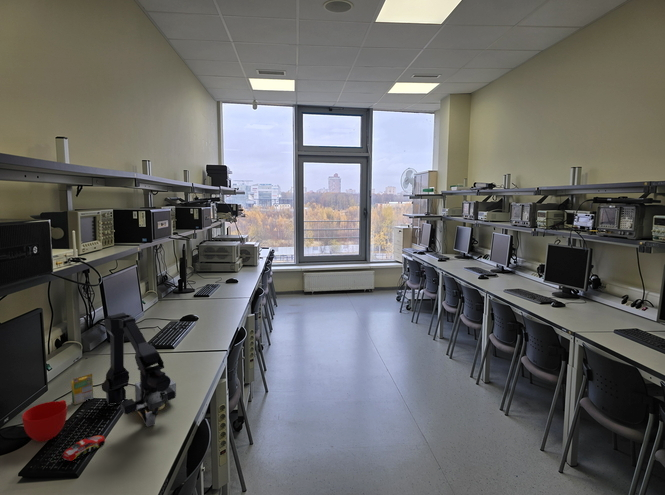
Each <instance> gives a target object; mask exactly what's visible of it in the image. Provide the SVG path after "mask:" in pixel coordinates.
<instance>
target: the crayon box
mask: <svg viewBox="0 0 665 495" xmlns="http://www.w3.org/2000/svg"><path fill="white" fill-rule="evenodd" d="M93 382H94V380H93V373H89V374H85V375H82V376H78V377H75V378H73V380H70V384H71V385H70V386H71V400H72V404H74V406H75V405H77V404H82V403H84V402H87V401H89V400H88V399H90V400H93V399H94V386H93V385H94V384H93ZM86 400H87V401H86Z"/></svg>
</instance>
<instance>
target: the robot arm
mask: <svg viewBox="0 0 665 495" xmlns="http://www.w3.org/2000/svg"><path fill="white" fill-rule="evenodd" d="M103 323H104V326H105V331H106V332H107V333H108V334H109V338H110V339H109V340H110V341H109V342H110V343H109V344H110V345H109V346H110V348H109V349H110V366H109V368H108V370H107V371H106V374H105V380H104V381H103V382H102V384H101V390H102V391H103V392H105V394H106V395H105V397H106V398H105V400H106V401H107V403H108V404H110V403H117V402H120V401H122V400H126V401H123V402H122V403H121V404H120V410H121V411H122V413H123V414H124V415H129V414H132V413H135V412H137V413H138V412H140V413H141V416H142V417H141V416H140V417H141V418H142V419H143V420H142V421H143V423H144V422H146V412H145V410H146V411H147V408H146V407H148V410H149V411H151V412H152V413H153V414H154V415H155V417H156V416H157V415H158V414H157V413H158V411H159V410H158V409H159V407H161V406H162V404H165V402H167V401H171V400H174V399H176V397H177V392H176V393H175V391H174V390H173V389H172V388H171V387H169V385H170V382H171V380H170V376H168V375H167V374H166V372H165V371H161V370H162V369H165V366H164V361H163V359H162V357H161V355H160V353H159V352H158V351H157V349H156V348H155V346H153V345H152V344H149V343H148V342H147V340H146V339H145V337H144V335H143V333H142V332H141V329H140V327H139V326H138V325H137V320H136V319H135V317H134V316H132V314H126V313H125V312H120V313H115V314H114V313H113V314H111V315H107V316H106V317H105V319H104V322H103ZM124 335H126V337H127V339H128V340H129V343H130V344H131V346H132V348H133V349H134V351H135V355H134V359H135V363H136V365H137V370H138V371H139V375H140V377H139V378H140V379H139V380H140V381H139V382H140V389H141V394H140V397H141V400H137V401H136V400H134V399H133V398H130V399H126V398H127V397H126V396H127V395H126V392H127V391H126V387H128V386H129V380H130V372H129V371H128V370H127V369H126V367H125V365H124V364H125V363H124V362H125V360H124V358H125V357H124V356H125V355H124V350H125V349H124V348H125V347H124V346H125V345H124V344H125V343H124V340H125V339H124ZM156 364H157V365H156ZM165 374H166V375H167V376H166V375H165ZM159 391H160V392H159ZM107 403H106V404H107ZM145 403H146V404H147V406H145V407H144V404H145ZM108 404H107V405H108Z"/></svg>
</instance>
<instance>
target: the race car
mask: <svg viewBox="0 0 665 495" xmlns="http://www.w3.org/2000/svg"><path fill="white" fill-rule="evenodd" d="M105 442H106V437H105V436H104V435H101V434H100V435H99V434H98V435H94V436H91V437H88V438H84V439H80V440H79V441H77V442H76V443H73V445H72V446H70V447H69V448H67V449H66V450H65V451H64V452H63V455H62V460H63V459H64V461H65V460H67V461H72V460H74V459H76V458H78V457H80V456H82V455H83V454H85V453H87V452H90V453H91V452H94V451H95V450H96V449H98V448H101V447H102V446H104V444H105ZM67 461H66V462H67Z"/></svg>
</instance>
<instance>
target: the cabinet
mask: <svg viewBox="0 0 665 495" xmlns="http://www.w3.org/2000/svg"><path fill="white" fill-rule="evenodd" d="M165 375H166V376H168V375H167V374H166V373H165ZM169 378H170V377H169ZM170 380H171V382H170V385H169V387H171V388H172V389H173V390H174V391H175V393H176V394H177V383H176V382H175V381H174V380H173V379H172V378H170ZM134 391H135V392H134V394H135V398H134V399H135V401H137V400H141V397H140V394H141V389H140V381H138V382H135V384H134ZM159 392H160V391H159ZM144 407H145V408H146V407H148V406H147V404H146V403H145V404H144Z"/></svg>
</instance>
